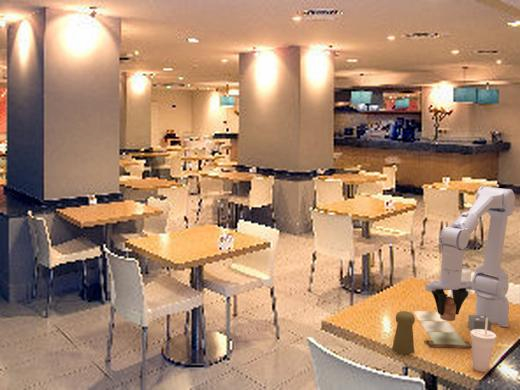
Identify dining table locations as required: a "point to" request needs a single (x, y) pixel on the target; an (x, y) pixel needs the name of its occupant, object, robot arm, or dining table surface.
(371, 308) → the dining table surface
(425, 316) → the game board
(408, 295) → the dining table surface
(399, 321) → the olive brown pawn
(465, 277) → the can
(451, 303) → the pawn
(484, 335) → the smoothie
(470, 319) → the die
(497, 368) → the dining table surface
